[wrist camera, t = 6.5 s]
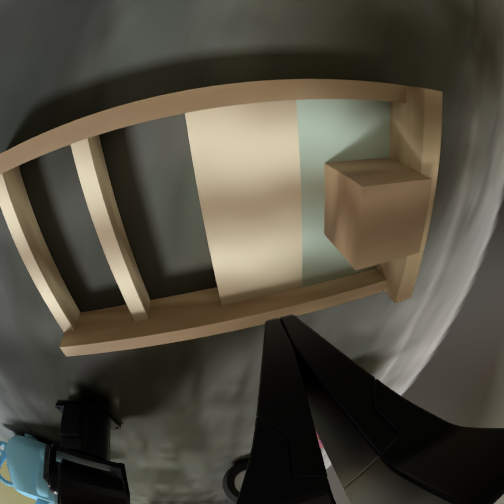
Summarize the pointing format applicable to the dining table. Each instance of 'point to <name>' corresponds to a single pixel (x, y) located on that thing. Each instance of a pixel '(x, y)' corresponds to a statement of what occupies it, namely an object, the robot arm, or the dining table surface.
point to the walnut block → (375, 210)
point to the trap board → (236, 204)
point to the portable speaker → (234, 481)
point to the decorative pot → (26, 467)
